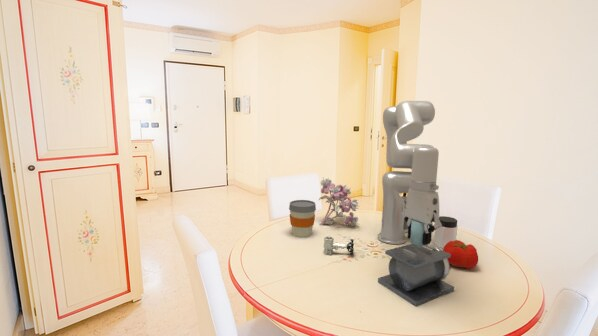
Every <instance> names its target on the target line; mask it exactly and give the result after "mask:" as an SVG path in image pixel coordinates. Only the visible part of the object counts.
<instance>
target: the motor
mask: <svg viewBox="0 0 598 336" xmlns="http://www.w3.org/2000/svg"><path fill="white" fill-rule="evenodd" d="M384 254H385V255H387V256H389V257H391V258H390V260H389V263H388V273H389V274H386V275H383V276H380V277H378V278H377V283H378V284H380V285H382V286H383V287H384V288H386V289H387V290H389V291H391V292H392V293H394V294H396V295H397V296H399V297H400V298H402V299H404V301H407V302H408V303H410V304H411V305H413V306H414V307H418V306H420V305H423V304H425V303H428V302H430V301H432V300H436V299H437V298H440V297H443V296H444V295H447V294H451V293H452V292H454V291H455V285H452V284H450V283H448V282H446V281H444V280H445V279H447V278H448V276H449V274H450V263H449V262H448V259H447V258H449V257H451V254H449V253H447V252H444V251H443V250H442V248H440V247H439V246H437V245H435V244H434V245H433V244H427V245H426V246H416V245H413V244H411V243H410V244H405V245H402V246H397V247H394V248H391V249H386V250H384Z"/></svg>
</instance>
